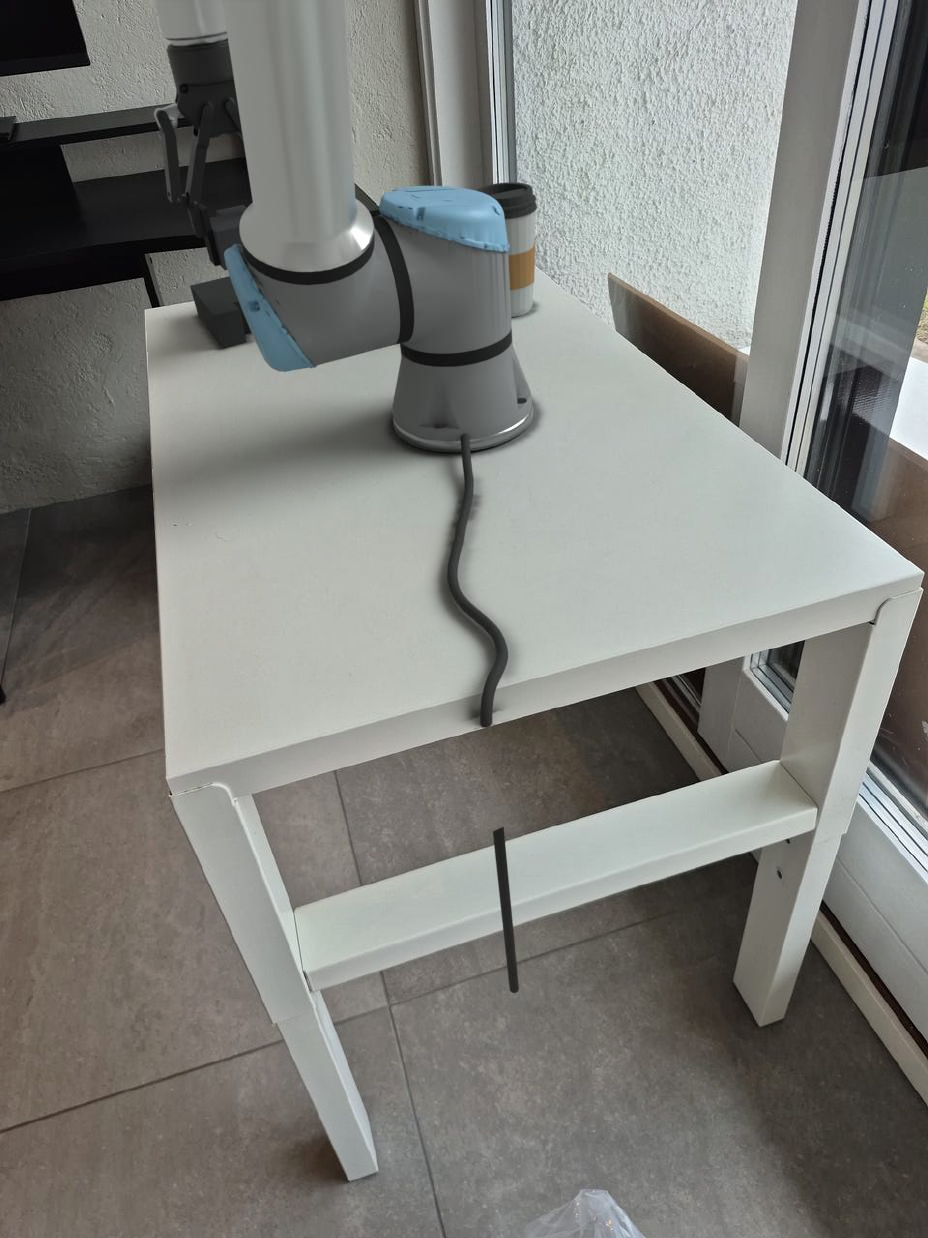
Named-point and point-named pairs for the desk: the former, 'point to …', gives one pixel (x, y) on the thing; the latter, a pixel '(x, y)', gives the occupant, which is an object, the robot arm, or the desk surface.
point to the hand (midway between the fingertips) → (249, 254)
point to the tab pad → (226, 230)
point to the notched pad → (221, 311)
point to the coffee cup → (518, 239)
